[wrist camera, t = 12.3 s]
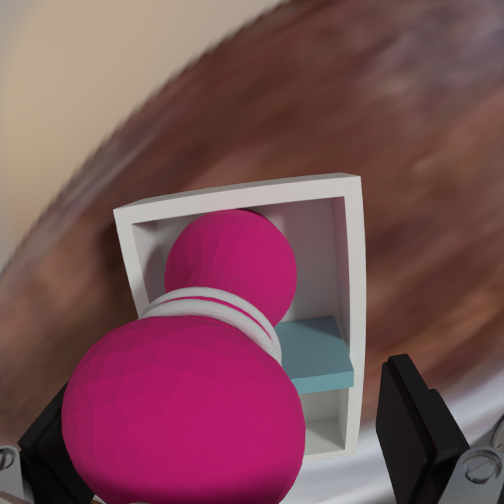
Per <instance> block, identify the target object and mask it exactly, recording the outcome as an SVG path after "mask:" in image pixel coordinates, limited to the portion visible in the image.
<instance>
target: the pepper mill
mask: <svg viewBox="0 0 504 504" xmlns="http://www.w3.org/2000/svg"><path fill="white" fill-rule="evenodd" d="M296 284H297V268H296V261H295V257H294V253H293V250H292V248H291V246H290V244H289V242H288V240H287V239H286V238H285V236H284V235H283V234H282V232H281V231H280V230H279V229H278V228H277V227H276V226H275V225H274V224H273V223H272V222H271V221H270V220H268V219H267V218H266V217H265V216H263V215H261V214H260V213H258V212H255V211H253V210H250V209H243V208H235V209H227V210H218V211H214V212H211V213H208V214H205V215H203V216H201V217H199V218H197V219H196V220H194V221H193V222H191V223H190V224H189V225H188V226H187V227H186V228H185V229H184V230H183V231H182V232H181V234H180V235H179V236H178V238H177V239H176V241H175V242H174V244H173V246H172V248H171V250H170V252H169V255H168V258H167V261H166V267H165V275H164V288H165V293H166V294H164V295H162V296H160V297H159V298H157V299H156V300H154V301H153V302H152V303H151V304H150V305H149V306H148V307H147V308H146V309H145V310H144V311H143V313H142V314H141V315H140V317H139V318H138V319H137V320H135V321H132V322H129V323H127V324H125V325H122V326H120V327H118V328H115V329H113V330H111V331H109V332H108V333H107V334H105V335H104V336H103V337H102V338H101V339H100V340H98V341H97V342H96V343H95V344H94V345H92V346H91V347H90V349H89V350H88V351H87V352H86V354H85V355H84V356H83V358H82V359H81V360H80V362H79V363H78V365H77V367H76V368H75V370H74V372H73V373H72V375H71V377H70V380H69V382H68V385H67V388H66V391H65V393H64V398H63V404H62V435H63V439H64V442H65V445H66V448H67V451H68V453H69V456H70V458H71V461H72V463H73V465H74V467H75V470H76V471H77V473H78V474H79V475H80V476H81V478H82V479H83V480H84V481H85V482H86V484H87V485H88V486H89V487H90V488H91V490H92V491H93V492H94V493H95V494H96V495H97V496H98V497H99V498H100V499H102V500H103V501H104V502H105V503H107V504H279V503H280V502H281V501H282V500H283V499H284V497H285V496H286V494H287V493H288V492H289V490H290V489H291V487H292V486H293V484H294V482H295V480H296V477H297V475H298V473H299V470H300V468H301V465H302V461H303V456H304V451H305V435H306V425H305V419H304V414H303V409H302V404H301V400H300V398H299V395H298V392H297V390H296V387H295V386H294V384H293V383H292V381H291V380H290V378H289V377H288V375H287V374H286V373H285V371H284V370H283V368H282V365H281V360H282V355H281V346H280V342H279V339H278V337H277V335H276V332H275V330H274V327H275V326H276V325H277V324H278V323H279V322H280V321H281V320H282V319H283V317H284V316H285V314H286V312H287V311H288V309H289V307H290V305H291V303H292V301H293V298H294V295H295V292H296Z"/></svg>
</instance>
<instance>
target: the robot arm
mask: <svg viewBox="0 0 504 504" xmlns="http://www.w3.org/2000/svg"><path fill="white" fill-rule="evenodd" d="M69 380H70V379H69ZM68 382H69V381H68ZM68 382H67V383H66V384H65V385H64V387H63V388H62V389H61V390H60V391H59V392H58V394H57V395H56V396H55V397H54V398H53V400H52V401H51V402H50V403H49V404H48V406H47V407H46V408H45V409H44V410H43V412H42V413H41V414H40V415H39V416H38V418H37V419H36V420H35V421H34V423H33V424H32V425H31V426H30V427H29V429H28V430H27V431H26V432H25V434H24V435H23V436H22V437H21V439H20V440H19V441H18V442H17V443H18V445H19V446H20V448H21V449H22V450H21V451H20V452H19V451H18V450H17V449H16V448H15V447H14V446H11V445H4V446H0V504H90V503H91V501H92V499H93V497H94V495H95V493H94V492H93V491H92V490H91V488H90V487H89V486H88V485H87V484H86V482H85V481H84V480H83V479H82V478H81V476H80V475H79V474H78V473H77V471H76V470H75V467H74V465H73V463H72V461H71V458H70V456H69V453H68V451H67V448H66V445H65V442H64V439H63V435H62V404H63V398H64V393H65V391H66V388H67V385H68ZM376 433H377V436H378V439H379V442H380V446H381V449H382V452H383V456H384V459H385V462H386V466H387V469H388V473H389V476H390V480H391V483H392V487H393V490H394V494H395V498H396V501H397V504H504V455H503V453H504V419H503V421H502V422H501V424H500V425H499V427H498V429H497V430H496V432H495V435H494V437H493V442H492V444H493V447H491V446H476V447H473V448H470V446H469V444H468V442H467V441H466V439H465V437H464V435H463V433H462V432H461V430H460V428H459V426H458V425H457V423H456V421H455V419H454V418H453V416H452V414H451V413H450V411H449V409H448V407H447V406H446V404H445V402H444V401H443V399H442V397H441V396H440V394H439V393H438V391H437V390H436V389H430V390H429V389H428V387H427V385H426V384H425V382H424V380H423V379H422V377H421V375H420V374H419V372H418V370H417V369H416V367H415V365H414V364H413V362H412V360H411V359H410V357H409V355H408V354H401V355H395V356H390V357H389V358H388V362H384V363H383V364H382V373H381V384H380V393H379V401H378V409H377V417H376Z"/></svg>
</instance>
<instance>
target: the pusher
mask: <svg viewBox="0 0 504 504" xmlns="http://www.w3.org/2000/svg"><path fill="white" fill-rule="evenodd" d="M274 330H275V332H276V335H277V337H278V339H279V342H280V346H281V355H282V360H281V365H282V368H283V370H284V371H285V373H286V374H287V375H288V377H289V378H290V380H291V381H292V383H293V384H294V386H295V387H296V390H297V392H298V394H306V393H314V392H322V391H330V390H336V389H343V388H349V387H354V369H353V366H352V363H351V360H350V358H349V355H348V352H347V349H346V347H345V344H344V341H343V339H342V336H341V333H340V331H339V328H338V326H337V323H336V320H335V318H334V316H329V317H321V318H313V319H305V320H296V321H287V322H279V323H278V324H277V325H276V326H275V327H274Z"/></svg>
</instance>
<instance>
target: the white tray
mask: <svg viewBox="0 0 504 504" xmlns="http://www.w3.org/2000/svg"><path fill="white" fill-rule="evenodd" d="M235 208H243V209H250V210H253V211H255V212H258V213H260V214H261V215H263V216H265V217H266V218H267V219H268V220H270V221H271V222H272V223H273V224H274V225H275V226H276V227H277V228H278V229H279V230H280V231H281V232H282V234H283V235H284V236H285V238H286V239H287V240H288V242H289V244H290V246H291V248H292V250H293V253H294V257H295V261H296V268H297V284H296V292H295V295H294V298H293V301H292V303H291V305H290V307H289V309H288V311H287V312H286V314H285V316H284V317H283V319H282V320H281V321H280V322H287V321H296V320H305V319H313V318H321V317H329V316H334V318H335V320H336V323H337V326H338V328H339V331H340V333H341V336H342V339H343V341H344V344H345V347H346V349H347V352H348V355H349V358H350V360H351V363H352V366H353V369H354V387H349V388H343V389H336V390H330V391H322V392H314V393H306V394H298V395H299V398H300V400H301V404H302V409H303V414H304V419H305V425H306V435H305V451H304V456H303V461H302V462H309V461H317V460H325V459H332V458H338V457H345V456H350V455H356V450H357V442H358V434H359V425H360V415H361V404H362V392H363V377H364V360H365V334H366V261H365V235H364V217H363V202H362V190H361V178H360V176H357V175H351V174H346V173H330V174H319V175H309V176H299V177H290V178H281V179H273V180H264V181H256V182H249V183H241V184H234V185H227V186H220V187H213V188H206V189H199V190H193V191H187V192H181V193H175V194H169V195H163V196H157V197H152V198H146V199H142V200H139V201H136V202H133V203H130V204H128V205H125V206H122V207H119V208H116V209H114V210H113V211H114V216H115V221H116V226H117V231H118V236H119V241H120V245H121V250H122V254H123V259H124V263H125V267H126V271H127V275H128V279H129V283H130V287H131V291H132V295H133V299H134V302H135V306H136V310H137V313H138V317H140V315H141V314H142V313H143V311H144V310H145V309H146V308H147V307H148V306H149V305H150V304H151V303H152V302H153V301H154V300H156V299H157V298H159V297H160V296H162V295H164V294H166V293H165V288H164V275H165V267H166V261H167V258H168V255H169V252H170V250H171V248H172V246H173V244H174V242H175V241H176V239H177V238H178V236H179V235H180V234H181V232H182V231H183V230H184V229H185V228H186V227H187V226H188V225H189V224H190V223H191V222H193V221H194V220H196V219H197V218H199V217H201V216H203V215H205V214H208V213H211V212H214V211H218V210H227V209H235Z"/></svg>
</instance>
